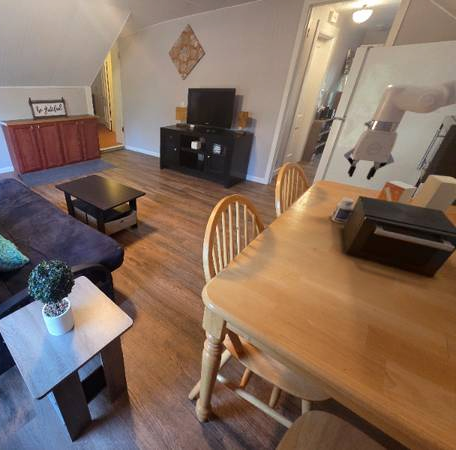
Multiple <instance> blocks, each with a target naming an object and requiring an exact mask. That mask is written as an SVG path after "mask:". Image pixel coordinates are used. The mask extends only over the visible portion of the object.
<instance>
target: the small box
mask: <svg viewBox="0 0 456 450" xmlns="http://www.w3.org/2000/svg"><path fill="white" fill-rule="evenodd" d="M417 189H418V187H416V186H414V185H411V184H409V183H405V182H403V181H400V180H389V181H386V182H385V183H384V186H383V187H382V189H381V191H380V193H379V194H378V196H377V198H376V199H380V200H385V201H391V202H396V203H402V204H407V205H408V203H409V202H410V200H411V199H412V197H413V196H414V194H415V193H416V191H417Z"/></svg>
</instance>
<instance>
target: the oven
mask: <svg viewBox="0 0 456 450" xmlns="http://www.w3.org/2000/svg"><path fill="white" fill-rule="evenodd" d="M364 216H369V217H374V218H379V219H384V220H389V221H393V222H398V223H403V224H408V225H413V226H418V227H422V228H427V229H432V230H437V231H442V232H446V233H451V234H456V225H455V224H454V222H452V221H451V220H450V218H448V216H447V215H446V213H445V214H444V213H443V212H442V211H440V210H435V209H429V208H424V207H418V206H413V205H410V204H408V203H407V204H402V203H396V202H391V201H385V200H380V199H377V198H375V197H374V198H373V197H368V196H363V195H359V196H358V198H357V200H356V202H355V204H354V205H353V210H352V212H351V214H350V216H349V218H348V220H347V222H346V223H344V226H343V228H342V236H343V244H344V251H345V252H346V250H347V248H348V246H349V244H350V242H351V240H352V239H353V237H354V235H355V233H356V231H357V229H358V228H359V226H360V224H361V222H362V220H363V218H364Z"/></svg>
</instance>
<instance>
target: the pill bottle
mask: <svg viewBox="0 0 456 450" xmlns="http://www.w3.org/2000/svg"><path fill="white" fill-rule="evenodd" d="M354 202H355V200H354V199H352V198H349V197H342V198H341V201H340V202H338V203H337V205H336V207H335V208H334V211H333V213H332V215H331V221H333V222H335V223H338V224H346V222H347V220H348V218H349V216H350V214H351V212H352V210H353V208H354Z"/></svg>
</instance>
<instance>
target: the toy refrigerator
mask: <svg viewBox="0 0 456 450" xmlns="http://www.w3.org/2000/svg"><path fill="white" fill-rule="evenodd" d="M455 200H456V178H455V177H452V176H447V175H438V174H429V175H428V177H427V178H426V180H425V181H424V183H423V184H422V185H421V187H420V188H419V190H418V192H417V193H416V194H415V196H414V198H413V199H412V201H411V203H410V204H409V205H413V206H418V207H424V208H429V209H435V210H440V211H442V212H443V213H444V214H445V215H446V213H447V211H448V210H449V209H450V207H451V206H452V205H453V204H454V202H455Z"/></svg>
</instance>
